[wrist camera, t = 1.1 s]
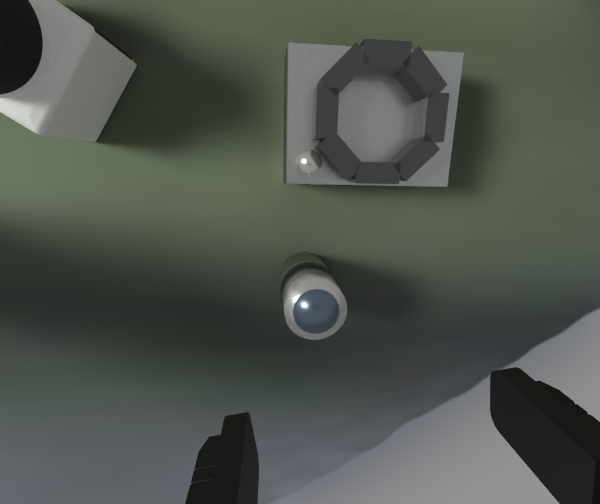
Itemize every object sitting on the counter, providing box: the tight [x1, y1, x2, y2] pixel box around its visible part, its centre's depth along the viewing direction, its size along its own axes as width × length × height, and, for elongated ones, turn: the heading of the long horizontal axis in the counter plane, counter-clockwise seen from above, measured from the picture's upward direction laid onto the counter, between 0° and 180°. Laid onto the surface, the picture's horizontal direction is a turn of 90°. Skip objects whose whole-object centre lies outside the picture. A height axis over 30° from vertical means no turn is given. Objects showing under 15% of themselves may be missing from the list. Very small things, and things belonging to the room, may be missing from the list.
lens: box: [280, 252, 347, 340], centre depth 27 cm, size 5×5×8 cm
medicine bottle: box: [0, 0, 137, 142], centre depth 20 cm, size 7×7×12 cm
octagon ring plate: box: [283, 39, 464, 187], centre depth 25 cm, size 12×9×7 cm
